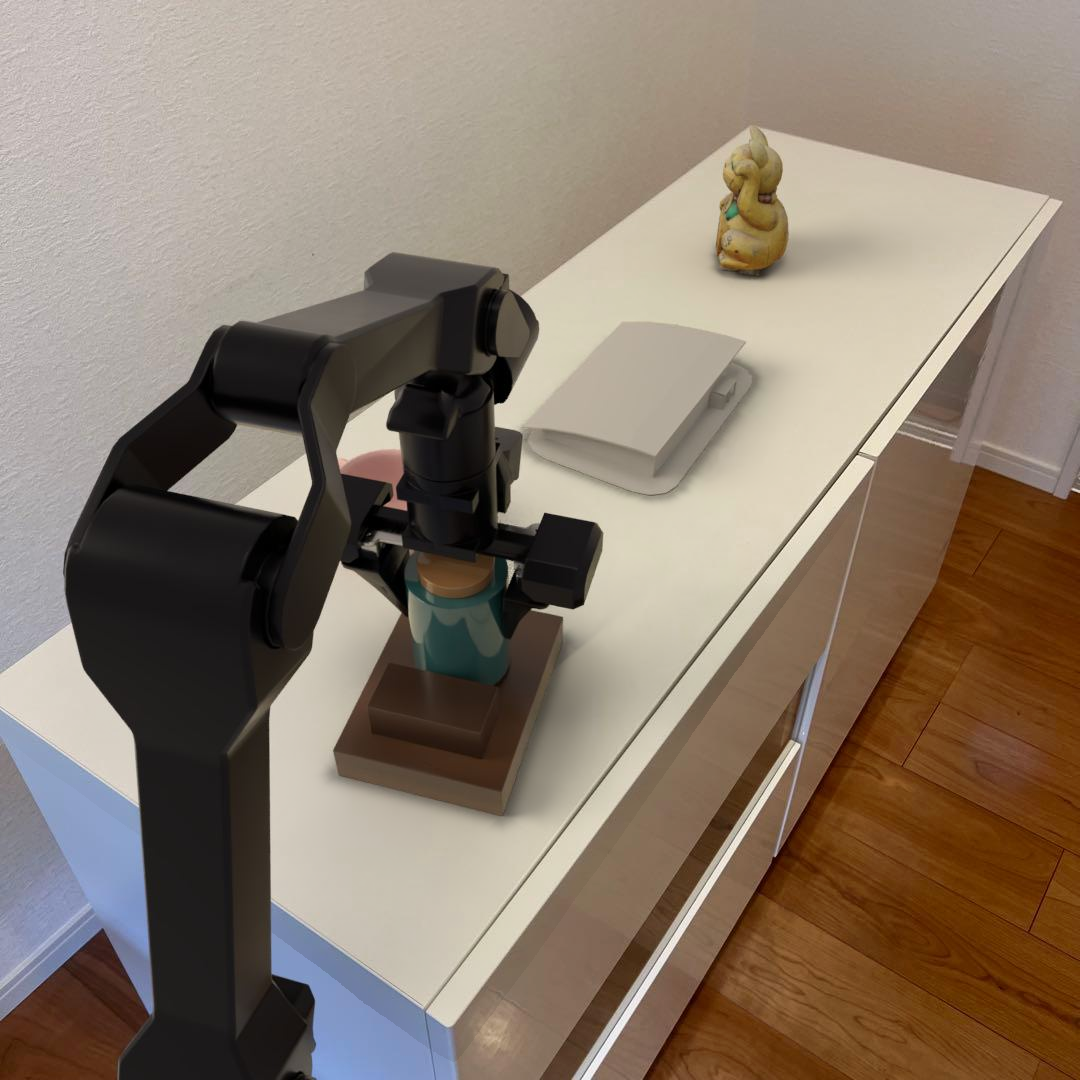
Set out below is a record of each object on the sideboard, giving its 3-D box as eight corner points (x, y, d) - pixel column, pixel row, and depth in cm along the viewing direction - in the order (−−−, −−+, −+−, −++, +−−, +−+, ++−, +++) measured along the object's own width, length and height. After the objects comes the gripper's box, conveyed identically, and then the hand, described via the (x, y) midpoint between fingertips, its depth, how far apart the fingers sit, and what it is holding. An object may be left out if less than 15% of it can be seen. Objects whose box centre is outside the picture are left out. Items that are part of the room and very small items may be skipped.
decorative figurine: (711, 238, 129) (727, 114, 119) (780, 242, 129) (802, 118, 118) (712, 280, 122) (729, 153, 112) (786, 284, 122) (810, 156, 111)
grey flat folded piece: (761, 372, 110) (766, 339, 107) (663, 503, 95) (667, 469, 93) (626, 329, 115) (628, 297, 112) (515, 447, 101) (514, 414, 98)
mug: (474, 535, 92) (471, 483, 88) (385, 596, 87) (377, 544, 83) (384, 471, 98) (377, 420, 94) (295, 525, 93) (284, 473, 89)
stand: (502, 816, 73) (500, 765, 69) (337, 775, 75) (326, 723, 71) (562, 642, 84) (564, 589, 80) (417, 610, 86) (411, 557, 82)
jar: (471, 715, 69) (505, 542, 69) (369, 692, 70) (402, 522, 70) (508, 697, 80) (538, 548, 80) (420, 677, 81) (449, 531, 81)
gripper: (627, 400, 69) (615, 571, 80) (356, 354, 72) (379, 523, 83) (586, 513, 61) (578, 685, 72) (284, 456, 65) (320, 628, 76)
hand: (460, 623), depth 76 cm, fingers closed on jar, 7 cm apart
